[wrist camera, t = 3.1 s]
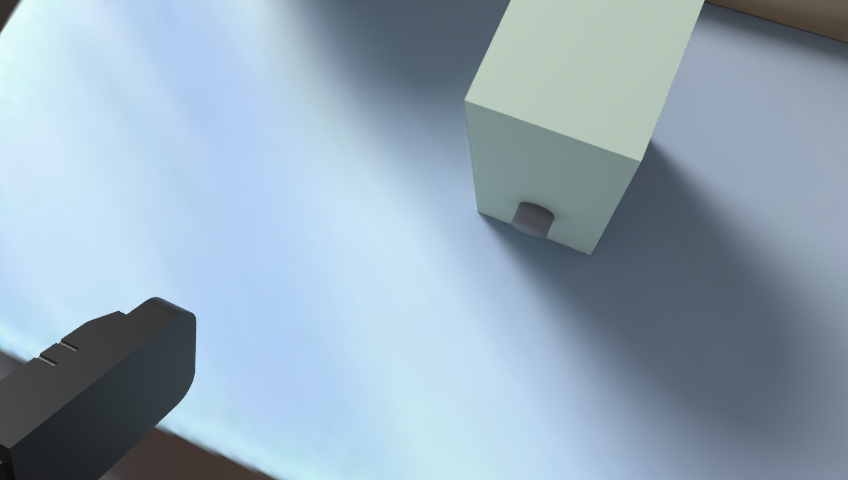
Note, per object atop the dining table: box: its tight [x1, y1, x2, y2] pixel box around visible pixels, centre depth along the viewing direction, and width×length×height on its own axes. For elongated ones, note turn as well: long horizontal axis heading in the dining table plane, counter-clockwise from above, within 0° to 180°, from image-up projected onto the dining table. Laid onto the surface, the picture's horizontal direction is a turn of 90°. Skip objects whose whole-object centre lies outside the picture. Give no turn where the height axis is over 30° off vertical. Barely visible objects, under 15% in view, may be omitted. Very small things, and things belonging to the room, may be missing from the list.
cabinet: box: [464, 0, 705, 255], centre depth 23 cm, size 7×5×10 cm
